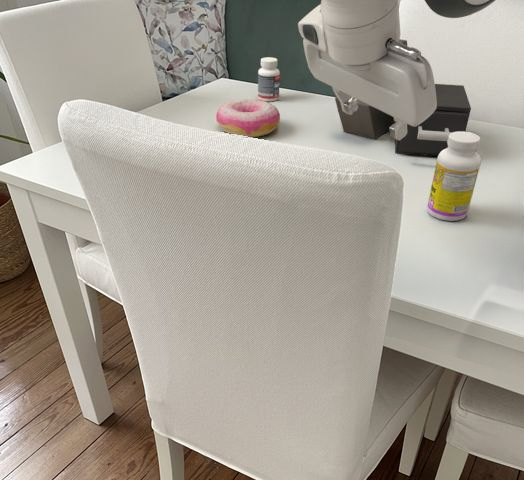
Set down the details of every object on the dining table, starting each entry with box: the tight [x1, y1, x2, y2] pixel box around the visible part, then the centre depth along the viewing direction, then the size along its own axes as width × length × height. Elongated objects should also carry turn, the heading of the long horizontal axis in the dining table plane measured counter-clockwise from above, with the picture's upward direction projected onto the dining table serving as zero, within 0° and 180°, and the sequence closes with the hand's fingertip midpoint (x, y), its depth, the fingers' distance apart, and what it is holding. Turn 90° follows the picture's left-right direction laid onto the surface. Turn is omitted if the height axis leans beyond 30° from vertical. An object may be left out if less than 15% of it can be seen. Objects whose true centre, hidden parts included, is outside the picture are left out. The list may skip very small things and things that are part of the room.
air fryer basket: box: [399, 110, 467, 154], centre depth 113 cm, size 18×11×8 cm, turn 170°
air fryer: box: [394, 83, 472, 157], centre depth 116 cm, size 15×13×10 cm
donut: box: [215, 98, 281, 138], centre depth 123 cm, size 14×13×5 cm
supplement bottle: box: [426, 131, 482, 222], centre depth 91 cm, size 7×7×13 cm
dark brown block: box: [334, 38, 408, 140], centre depth 119 cm, size 17×8×21 cm
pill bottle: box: [257, 56, 281, 102], centre depth 138 cm, size 5×5×9 cm
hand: (374, 123), depth 79 cm, fingers open, 8 cm apart
